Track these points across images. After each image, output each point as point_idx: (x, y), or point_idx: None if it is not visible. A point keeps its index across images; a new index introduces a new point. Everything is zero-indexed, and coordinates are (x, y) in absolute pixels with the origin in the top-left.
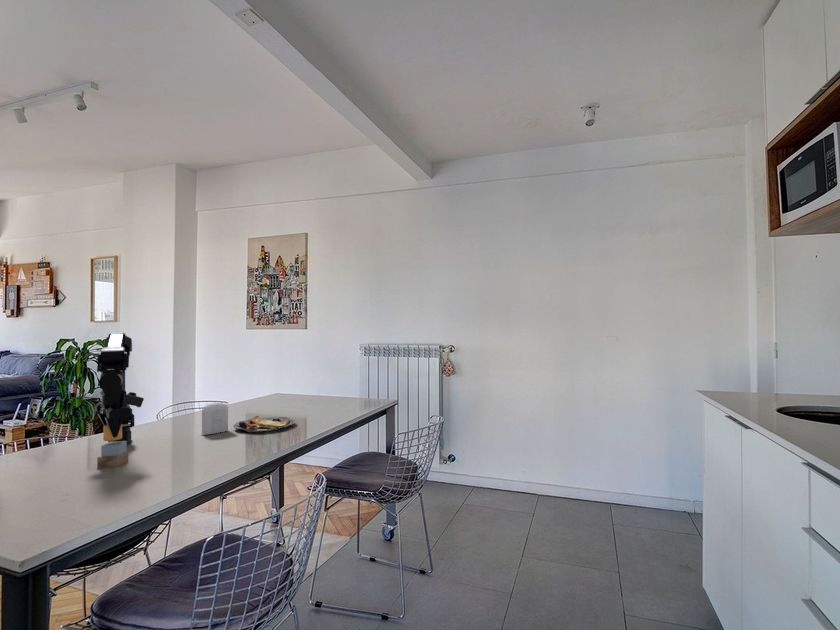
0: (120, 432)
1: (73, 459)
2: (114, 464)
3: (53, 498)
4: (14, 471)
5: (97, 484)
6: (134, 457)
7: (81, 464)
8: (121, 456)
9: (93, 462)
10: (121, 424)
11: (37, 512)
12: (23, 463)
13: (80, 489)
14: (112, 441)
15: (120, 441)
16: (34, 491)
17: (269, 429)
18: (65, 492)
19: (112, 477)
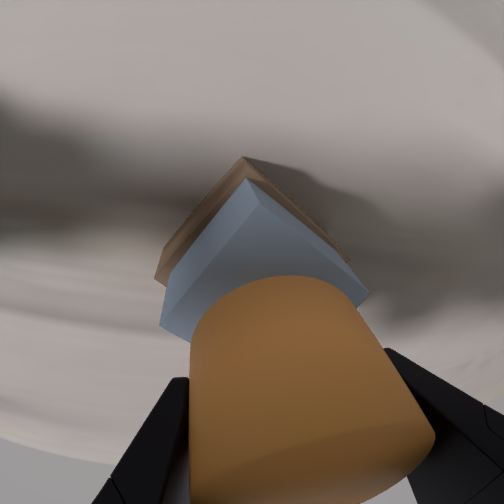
0: (379, 345)
1: (25, 353)
2: None
3: (458, 383)
4: (102, 457)
5: (470, 313)
6: (178, 107)
7: (129, 350)
8: (310, 221)
9: (124, 310)
10: (402, 426)
11: (488, 386)
12: (24, 431)
13: (463, 347)
14: (169, 313)
15: (236, 258)
16: None
17: None
18: (448, 372)
19: (456, 272)
